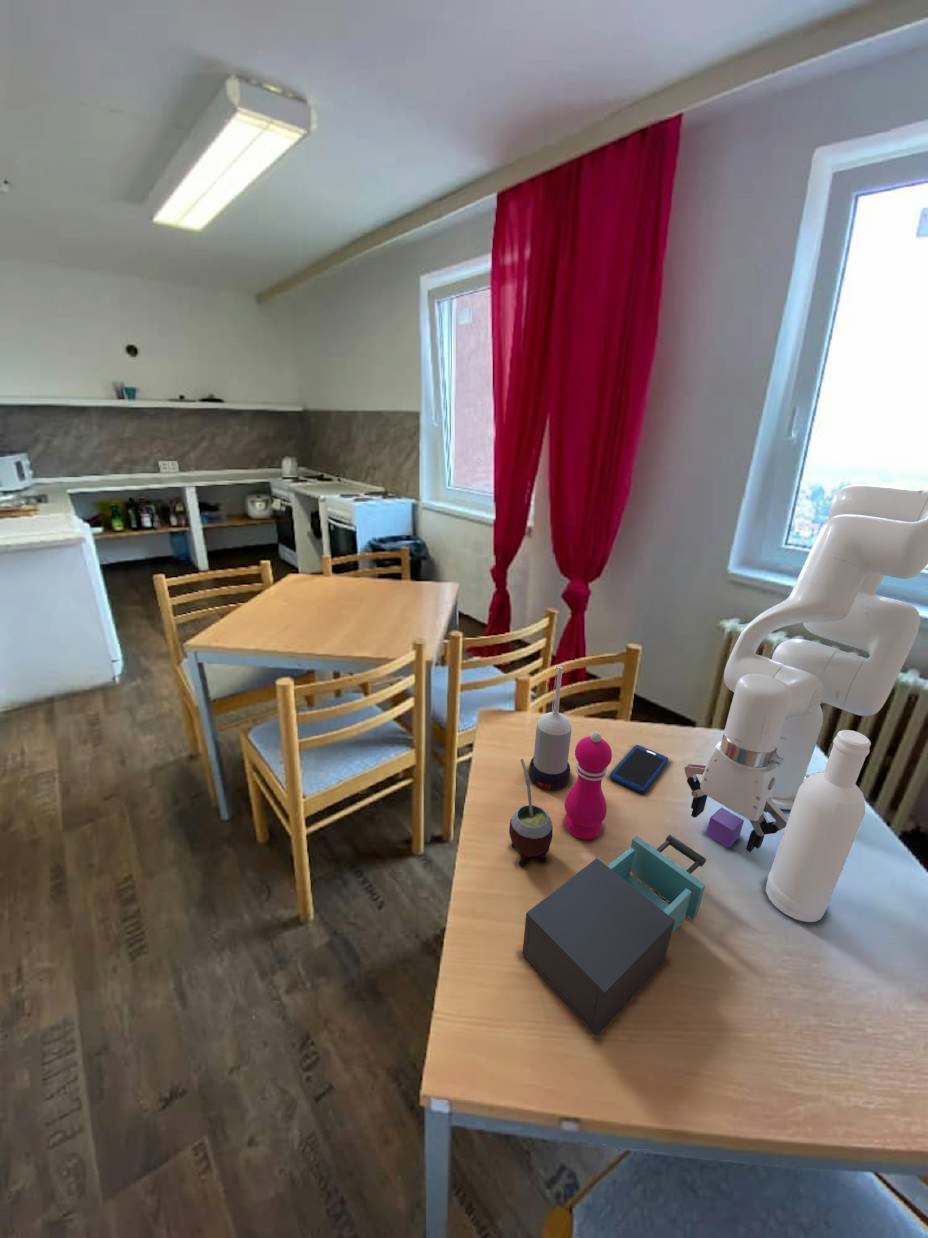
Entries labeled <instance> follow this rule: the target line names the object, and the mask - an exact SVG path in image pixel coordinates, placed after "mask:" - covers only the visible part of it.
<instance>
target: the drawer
mask: <svg viewBox="0 0 928 1238" xmlns="http://www.w3.org/2000/svg"><path fill="white" fill-rule="evenodd" d="M669 846H670V847H672V848H674V849H675V850H677V851H678V852H679V853H680V854H682V855H684V856H685V857H686V858H687V859H689V860H691V861H692V862H693V863H692V864H691V865H690V866H689V867H688V868H687V869H684V868H683V867H681V866H680V865H679V864H677V863H676V862H674V861H673V860H671V858H669V857H667V856H666V855H665V854H664V853H662V852H663V851H664V850H665V849H667V848H668V847H669ZM706 863H707V858H706V857H704V856H703V855H702V854H700V853H699V852H697V851H695V850H694V849H693V848H691V847H689V846H688V845H687V844H685V843H684V842H682V841H680V840H679V839H678V838H676V837H675V836H673V835H672V834H669V835H667V836H666V838H665V841H664V842H663V843H662V844H661V845H659V846H658V847H657V848H655V847H653V846H652V845H650V844H649V843H647V842H646V840H644V839H642V838H641V837H639V836H638V835H636V836H634V837H633V838H632V839H631V843H630V847H628V849H626V850H625V851H624V852H622V853H621V854H620V855H619V856H618V857H616V859H614V860H613V861H611V862H610V863H609V864H608V865H607V866H608V867H609V868H610V869H611V870H613V871H614V872H615V873H616V874H618V875H619V876H620V877H621V878H623V879H624V880H625V881H626V882H628V883H629V884H630V885H631V886H633V887H634V888H635V889H636V890H638V891H639V892H640V893H641V894H643V895H644V896H645V897H646V898H648V899H649V900H650V901H651V902H653V903H654V904H655V905H656V906H658V907H659V908H660V909H661V910H663V911H664V912H665V913H666V914H668V915H669V916H670V917H671V918H673V919H674V920H675V923H674V927H673V930H672V934H673V933H675V930H677V929H678V928H679V926H680V925H681V924H682V923H683V922H684V921H685V918H686V916H687V917H688V918H689V919H691V920H692V921H694V920H695V919H696V918H697V917H698V914H699V910H700V907H701V903H702V900H703V896H704V893H705V890H706V889H705V888H706V884H705V883H704V882H702V881H701V880H700V879H699V878H697V877H696V876H694V875H692V874H693V872H695V871H696V870H697V869H698V868H699V867H704V865H705V864H706ZM632 874H633V875H632ZM634 876H635V877H634ZM637 878H638V879H639V880H638V879H637ZM641 881H642V882H641ZM646 885H647V886H646ZM650 888H651V889H652V890H651V889H650ZM655 892H656V893H655ZM659 895H660V896H661V897H662V898H661V897H660V896H659ZM663 898H664V899H663Z"/></svg>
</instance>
